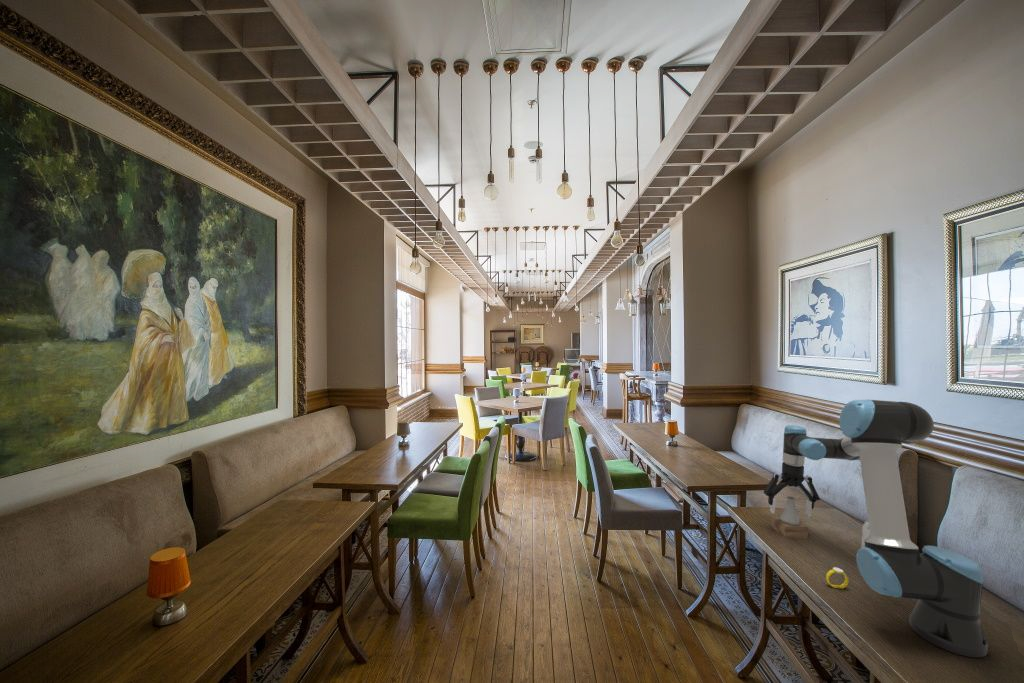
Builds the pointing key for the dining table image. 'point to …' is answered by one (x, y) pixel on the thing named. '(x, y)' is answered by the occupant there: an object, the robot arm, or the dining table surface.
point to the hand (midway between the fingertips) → (790, 514)
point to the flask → (790, 513)
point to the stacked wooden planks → (789, 528)
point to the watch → (838, 573)
